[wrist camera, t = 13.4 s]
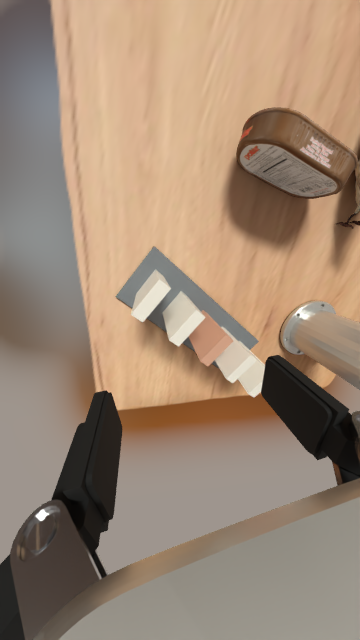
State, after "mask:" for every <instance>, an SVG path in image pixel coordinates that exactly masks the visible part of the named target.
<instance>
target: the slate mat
mask: <svg viewBox="0 0 360 640" xmlns="http://www.w3.org/2000/svg"><path fill="white" fill-rule="evenodd" d="M155 269H156V270H157V271H158V272H159V273H161V274H162V275H163V276H164V278H165V280H166V281H167V283H168V285H169V286H170V288H171V289H170V291H169V292H168V293H167V294H166V295H165V297H164V298H163V299H162V300H161V301H160V303H159V304H158V305H157V306H156V307H155V309H154V310H153V311H152V312H151V313H150V315H149V316H148V317H147V319H148V320H150V321H151V322H153V323H154V324H156V325H157V326H159V327H160V328H161V329H163V330H164V331H166V332H167V330H166V326H165V321H164V317H163V311H164V310H165V309H166V308H167V307H168V305H169V304H170V303H171V302H172V301H173V300H174V298H175V297H176V296H177V295H178V294H179V293H180V291H182V292H183V293H184V294H185V295H186V296H188V298H189V299H190V300H191V301H192V302H193V303H194V305H195V306H196V307H197V308H198V309H199V310H200V312H201V311H202V310H204V311H205V312H206V313H208V314H209V315H210V316H211V317H212V318H213V320H214V321H215V322H216V323H217V324H218V325H219V326H220V327H222V326H223V327H224V328H225V329H226V330H228V331H229V332H230V333H231V334H232V335H233V336H234V337H235V338H236V339H237V340H238V341H241V342H242V343H243V344H244V345H245V346H246V347H247V348H248V349H249V350H250V349H251V348H252V347H253V346H254V345H255V344H257V343H258V342H259V341H258V340H257V339H256V338H254V337H253V336H252V335H251V334H250V333H249V332H248V331H247V330H246V329H245V328H243V327H242V326H241V325H240V324H239V323H238V322H237V321H236V320H235V319H234V318H232V317H231V316H230V315H229V314H228V313H227V312H226V311H225V310H224V309H223V308H221V307H220V306H219V305H218V304H217V303H216V302H215V301H214V300H213V299H212V298H210V297H209V296H208V295H207V294H206V293H205V292H204V291H203V290H202V289H201V288H199V287H198V286H197V285H196V284H195V283H194V282H193V281H192V280H191V279H190V278H188V277H187V276H186V275H185V274H184V273H183V272H182V271H181V270H180V269H179V268H178V267H176V266H175V265H174V264H173V263H172V262H171V261H170V260H169V259H168V258H167V257H165V256H164V255H163V254H162V253H161V252H160V251H159V250H158V249H157V248H156V247H153V248H152V250H151V251H150V252H149V254H148V255H147V256H146V258H145V259H144V260H143V262H142V263H141V264H140V265H139V267H138V268H137V269H136V271H135V272H134V273H133V275H132V276H131V277H130V279H129V280H128V281H127V282H126V284H125V285H124V286H123V288H122V289H121V290H120V292H119V293H118V294H117V296H116V297H117V298H118V299H120V300H121V301H123V302H124V303H125V304H127V305H128V306H130V307H131V308H133V305H134V301H135V297H136V293H137V292H138V291H139V289H140V288H141V287H142V286H143V284H144V283H145V282H146V280H147V279H148V278H149V277H150V275H151V274H152V273H153V272H154V270H155ZM183 344H184V345H186V346H187V347H189V348H190V349H192V350H193V351H195V349H194V347H193V345H192V343H191V341H190V339H189V337H187V338H186V339H185V340H184V341H183ZM212 364H213V365H215V366H216V367H218V368H219V366H218V365H217V363H216V361H215V360H214V361H213V362H212ZM219 369H220V368H219Z"/></svg>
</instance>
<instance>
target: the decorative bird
mask: <svg viewBox="0 0 360 640" xmlns="http://www.w3.org/2000/svg"><path fill="white" fill-rule="evenodd" d="M355 176H356V186H355V189H356V197H355V201H356V203H357V205H358V206H357V208H356V210H355V212H354V214H352V215H351V216H350V217H349V219H348V220H347V222H345V223H343V222H339V223H337V224H340V225H342V226H344V227H352V225H349V224H348V223H349V221H350V219H351V218H352V217H353V216H354V215H356V214H357V213H358V212H359V211H360V160H359V161H358V164H357V166H356V168H355ZM350 223H355V224H356V225H360V221H358V222H357V221H352V222H350ZM334 225H335V224H334ZM352 228H353V227H352Z"/></svg>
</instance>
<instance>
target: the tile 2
mask: <svg viewBox="0 0 360 640" xmlns="http://www.w3.org/2000/svg"><path fill="white" fill-rule="evenodd" d="M163 317H164V321H165V326H166V330H167V334H168V338H169V341H171V342H172V343H174V344H175V345H177V346H178V347H179V346H180V345H181V344H182V343H183V341H184V340H185V339H186V338H187V337H188V336H189V335H190V334H191V333H192V332H193V331H194V330H195V328H196V327H197V326H198V325H199V324H200V323H201V322H202V321H203V320H204V319H205V318H206V317H205V316H204V315H203V314H202V313H201V312H200V310H199V309H198V308H197V307H196V306H195V305H194V303H193V302H192V301H191V300H190V299H189V298H188V296H186V295H185V294H184V293H183V292H182V291H180V293H179V294H178V295H177V296H176V297H175V298H174V300H173V301H172V302H171V303H170V304H169V305H168V307H167V308H166V309H165V310H164V311H163Z"/></svg>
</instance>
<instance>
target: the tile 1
mask: <svg viewBox="0 0 360 640" xmlns="http://www.w3.org/2000/svg"><path fill="white" fill-rule="evenodd" d="M170 289H171V288H170V286H169V285H168V283H167V281H166V280H165V278H164V276H163V275H162V274H161V273H159V272H158V271H157V270H156V269H155V270H154V272H153V273H152V274H151V275H150V277H149V278H148V279H147V280H146V282H145V283H144V284H143V286H142V287H141V288H140V289H139V291H138V292H137V293H136V297H135V301H134V305H133V308H132V312H131V315H132V316H134V317H135V318H137V319H138V320H140V321H141V322H144V321H145V319H146V318H147V317H148V316H149V315H150V313H151V312H152V311H153V310H154V309H155V307H156V306H157V305H158V304H159V303H160V301H161V300H162V299H163V298H164V297H165V295H166V294H167V293H168V292H169V291H170Z"/></svg>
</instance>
